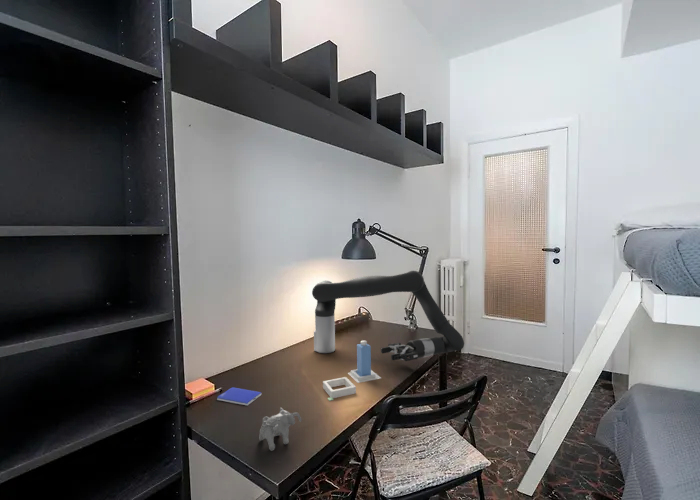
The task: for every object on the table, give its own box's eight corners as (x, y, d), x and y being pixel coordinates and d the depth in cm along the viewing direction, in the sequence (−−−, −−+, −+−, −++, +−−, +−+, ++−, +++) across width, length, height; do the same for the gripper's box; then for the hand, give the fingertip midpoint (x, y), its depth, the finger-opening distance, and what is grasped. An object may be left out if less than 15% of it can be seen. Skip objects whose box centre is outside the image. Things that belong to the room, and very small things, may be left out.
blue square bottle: (366, 372, 139) (366, 339, 139) (371, 376, 136) (370, 342, 135) (357, 374, 138) (356, 340, 137) (361, 378, 134) (361, 343, 133)
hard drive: (217, 396, 120) (247, 402, 116) (232, 386, 128) (261, 391, 124) (217, 401, 120) (247, 407, 116) (232, 390, 128) (261, 396, 124)
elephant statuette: (252, 445, 95) (251, 417, 94) (283, 423, 105) (282, 398, 104) (277, 456, 90) (277, 427, 89) (307, 433, 100) (306, 406, 99)
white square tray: (370, 370, 143) (369, 365, 143) (381, 380, 134) (381, 375, 134) (347, 374, 139) (347, 370, 139) (357, 385, 130) (357, 379, 130)
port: (348, 382, 132) (348, 374, 132) (361, 396, 121) (361, 387, 121) (317, 388, 128) (317, 380, 127) (328, 403, 117) (328, 394, 116)
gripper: (411, 334, 153) (378, 339, 147) (430, 344, 140) (395, 350, 134) (411, 351, 153) (378, 357, 147) (430, 363, 140) (395, 369, 134)
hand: (386, 354), depth 140 cm, fingers open, 8 cm apart
